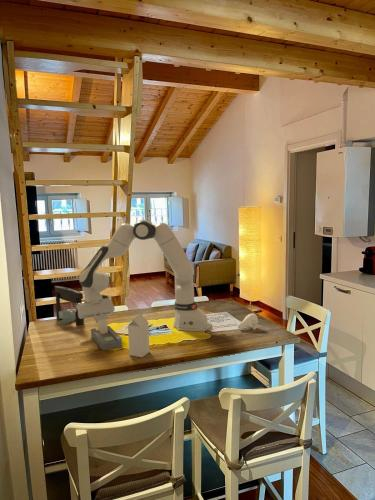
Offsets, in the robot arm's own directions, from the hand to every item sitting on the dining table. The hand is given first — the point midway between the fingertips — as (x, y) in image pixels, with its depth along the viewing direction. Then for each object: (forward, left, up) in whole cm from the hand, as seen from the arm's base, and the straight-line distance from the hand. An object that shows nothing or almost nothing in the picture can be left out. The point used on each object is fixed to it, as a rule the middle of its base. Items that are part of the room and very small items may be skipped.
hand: (99, 321), depth 198 cm
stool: (+34, -15, -8) cm, 38 cm away
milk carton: (-34, +15, -8) cm, 38 cm away
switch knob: (-5, +4, -4) cm, 8 cm away
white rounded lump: (-75, -35, -8) cm, 83 cm away
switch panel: (-9, +7, -7) cm, 14 cm away
